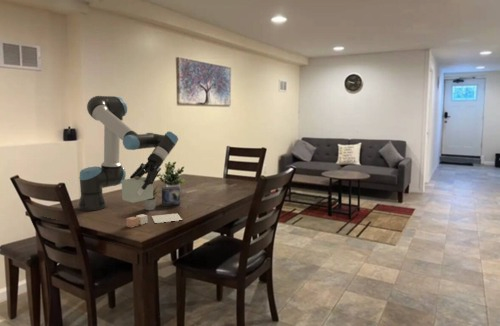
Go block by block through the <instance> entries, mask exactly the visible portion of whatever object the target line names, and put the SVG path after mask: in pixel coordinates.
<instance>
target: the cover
mask: <svg viewBox="0 0 500 326" xmlns="http://www.w3.org/2000/svg"><path fill="white" fill-rule="evenodd" d="M144 180H146V176H142V177H139V176H135V178H125V180H122V183H121V194H122V196H121V198H122V201H124V202H129V203H132V204H134V203H137V202H141V201H143V202H144V200H147V199H151V198H153V197H154V196H153V191H154V183H153V184H149V185H148V186H147V187H146V189H145V190H144V191H143V192H142V194H141V195H140V196H139V195H138V194H137V193H136V191H137V190H138V188H139V187H140V186H141V184H142V183H143V182H144Z"/></svg>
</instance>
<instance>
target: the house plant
mask: <svg viewBox="0 0 500 326" xmlns="http://www.w3.org/2000/svg"><path fill="white" fill-rule="evenodd" d="M157 188H158V185H156V187H155V188H153V198H151V199H147V200H143V202H144V206H145V207H144V208H145V210H146V211H153V210H156V204H157V197H156V196H157V195H158V192H157V191H159V190H157Z"/></svg>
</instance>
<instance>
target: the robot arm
mask: <svg viewBox="0 0 500 326" xmlns="http://www.w3.org/2000/svg"><path fill="white" fill-rule="evenodd" d="M86 111H87V113H88V114H89V116H91V118H92V119H93V120H95V121H98V122H100V123H101V124H102V125H104V128H103V129H104V131H103V133H104V135H103V138H104V139H103V140H104V141H103V145H104V146H103V162H101V164H100V166H88V167H84V168H82V169H81V170H80V171H79V177H78V179H79V184H80V185H79V186H80V187H79V188H80V189H79V190H80V197H79V201H78V204H77V208H78V209H77V210H79V211H84V212H85V211H86V212H87V211H88V212H89V211H99V210H102V209H105V208H107V201H106V199H105V197H104V194H103V189H104V188H109V187H115V186H118V185H122V180H125V179H126V175H127V174H126V170H125V168H124V166H123V165H122V162H120V140H122V144H123V148H124V149H126V150H129V151H130V150H131V151H136V150H141V149H143V150H144V149H153V148H154V149H153V150H152V151H151V153H150V154H149V156H148V157H147V162H146V163H143V162H142V163H141V164H140V165H139V166H138V168H136V170H135V171H134V172H133V173H132V174H131V175H130V177H129V179H131V178H135V176H139V177H144V176H145V174H146V176H145V177H146V180H144V182H143V183H142V184H141V186H140V187H139V188H138V190H137V191H136V193H137V194H138V195H139V196H140V195H141V194H142V192H143V191H144V190H145V189H146V187H147V186H148V185H149V184H153V185H154V182H155V181H156V179H157V177H158V174H159V172H160V171H161V170H162V168H161V166H162V165H163V164H164V162H165V161H166V158H167V157H168V156H169V155H170V153H171V152H172V150H173V149H174V148H175V146H176V145H177V143H178V142H179V136H178V135H177V134H175V132H172V131H170V130H169V131H167V132H166V133H164V134H157V133H154V132H146V133H143V134H141V133H140V134H138V133H137V132H136V131H134V130H133V129H132V128H131V127H130V126H128V125H127V124H126V123H125V122H123V118H124V117H125V116H126V115H127V113H128V106H127V103H126V101H125V99H124V98H123V97H120V96H113V95H112V96H110V95H106V96H105V95H95V96H93V97H91V98H90V99H88V102H87V104H86Z"/></svg>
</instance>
